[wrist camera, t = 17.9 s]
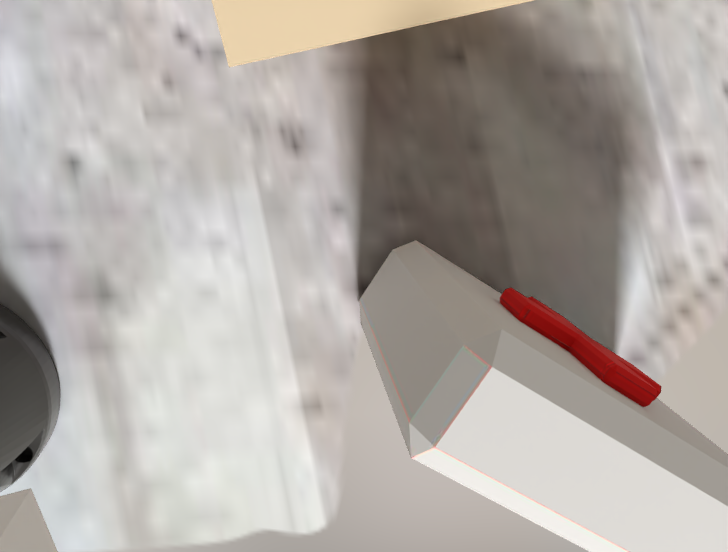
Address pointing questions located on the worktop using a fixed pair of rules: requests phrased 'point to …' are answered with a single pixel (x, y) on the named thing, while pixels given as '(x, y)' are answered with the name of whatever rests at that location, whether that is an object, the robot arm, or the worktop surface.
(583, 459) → the bevelled white case
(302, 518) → the worktop surface
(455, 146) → the worktop surface
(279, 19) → the carton
